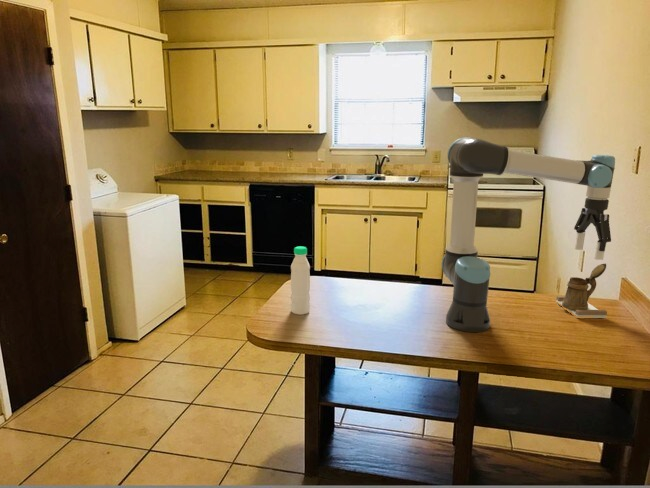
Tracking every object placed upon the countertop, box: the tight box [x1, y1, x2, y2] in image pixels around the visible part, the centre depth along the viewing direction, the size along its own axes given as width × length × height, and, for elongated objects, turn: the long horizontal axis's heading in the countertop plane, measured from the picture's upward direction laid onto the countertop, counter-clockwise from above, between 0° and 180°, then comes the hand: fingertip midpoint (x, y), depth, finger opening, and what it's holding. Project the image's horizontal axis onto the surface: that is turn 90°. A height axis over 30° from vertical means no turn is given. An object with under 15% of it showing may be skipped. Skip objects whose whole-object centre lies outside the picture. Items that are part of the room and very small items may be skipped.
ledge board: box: [555, 295, 608, 319], centre depth 190 cm, size 11×16×3 cm
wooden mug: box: [562, 263, 607, 311], centre depth 187 cm, size 9×14×18 cm, turn 83°
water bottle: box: [290, 245, 311, 315], centre depth 181 cm, size 7×7×25 cm
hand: (588, 254), depth 184 cm, fingers open, 13 cm apart
